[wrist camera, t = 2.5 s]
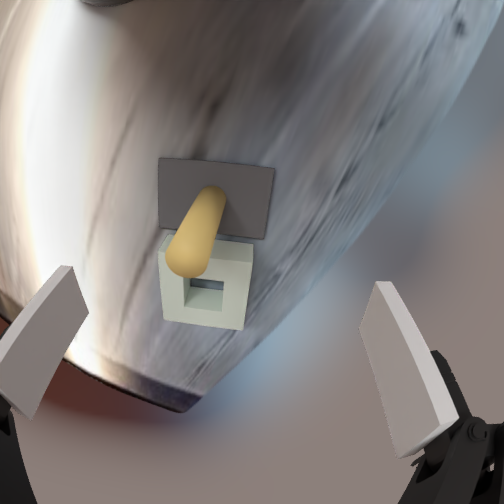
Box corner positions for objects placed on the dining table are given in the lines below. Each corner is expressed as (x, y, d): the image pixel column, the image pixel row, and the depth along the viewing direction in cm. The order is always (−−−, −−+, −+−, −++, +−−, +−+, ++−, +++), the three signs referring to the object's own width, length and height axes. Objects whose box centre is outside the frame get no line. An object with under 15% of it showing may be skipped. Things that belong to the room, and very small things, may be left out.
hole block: (171, 299, 36) (163, 319, 33) (168, 234, 31) (157, 251, 28) (244, 308, 37) (242, 330, 33) (253, 244, 32) (252, 263, 28)
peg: (197, 210, 29) (166, 275, 19) (198, 184, 28) (164, 238, 18) (224, 213, 30) (207, 280, 19) (227, 187, 28) (208, 243, 18)
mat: (159, 225, 31) (158, 227, 31) (159, 157, 27) (158, 158, 26) (263, 237, 31) (263, 238, 31) (274, 168, 27) (274, 169, 27)
